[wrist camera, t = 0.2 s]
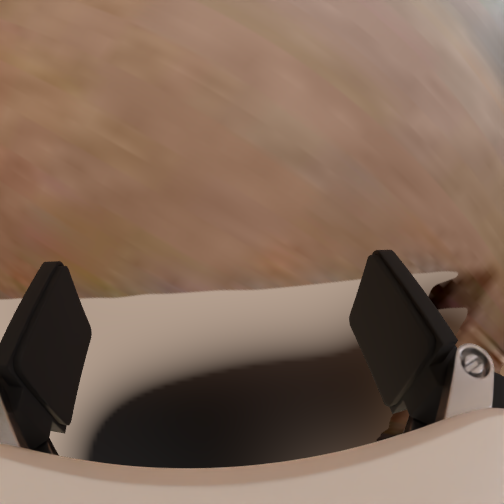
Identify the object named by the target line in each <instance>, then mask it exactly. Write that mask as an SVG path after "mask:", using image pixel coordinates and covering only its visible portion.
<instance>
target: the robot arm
mask: <svg viewBox="0 0 504 504" xmlns="http://www.w3.org/2000/svg"><path fill="white" fill-rule="evenodd" d="M349 321H350V326H351V328H352V330H353V333H354V335H355V337H356V339H357V342H358V344H359V346H360V348H361V350H362V353H363V355H364V357H365V359H366V362H367V364H368V366H369V368H370V371H371V373H372V376H373V378H374V380H375V383H376V385H377V387H378V390H379V392H380V395H381V397H382V399H383V402H384V404H385V405H386V406H389V407H390V409H391V411H392V414H393V413H397V412H400V411H403V410H406V409H407V410H408V412H409V418H408V421H407V424H406V427H405V430H404V433H403V434H401V435H397V436H394V437H391V438H388V439H385V440H381V441H378V442H375V443H371V444H368V445H363V446H360V447H356V448H352V449H348V450H343V451H339V452H335V453H330V454H325V455H320V456H315V457H309V458H304V459H298V460H292V461H285V462H278V463H269V464H261V465H251V466H239V467H224V468H190V469H187V468H185V469H183V468H151V467H136V466H124V465H115V464H107V463H99V462H92V461H86V460H80V459H74V458H68V457H63V456H59V455H58V453H57V451H56V450H55V448H54V446H53V444H52V442H51V440H50V438H49V436H50V431H55V432H61V433H65V430H66V425H69V424H70V423H71V420H72V414H73V409H74V404H75V400H76V395H77V390H78V386H79V382H80V377H81V374H82V370H83V366H84V362H85V358H86V354H87V351H88V347H89V343H90V340H91V327H90V324H89V322H88V320H87V317H86V315H85V312H84V310H83V307H82V305H81V302H80V300H79V297H78V294H77V292H76V289H75V286H74V283H73V281H72V278H71V275H70V272H69V269H68V268H67V266H64V265H63V263H62V262H60V261H57V262H44V263H43V264H42V266H41V267H40V269H39V271H38V272H37V274H36V276H35V277H34V279H33V281H32V282H31V284H30V286H29V288H28V290H27V291H26V293H25V295H24V297H23V299H22V301H21V303H20V304H19V306H18V308H17V310H16V312H15V314H14V316H13V318H12V320H11V322H10V324H9V326H8V328H7V330H6V332H5V334H4V336H3V338H2V340H1V343H0V504H504V376H502V375H499V374H497V373H495V372H494V365H493V361H492V359H491V357H490V356H489V354H488V353H487V352H486V351H485V350H484V349H483V348H481V347H479V346H477V345H475V344H464V345H461V346H460V347H459V348H458V349H457V347H456V346H455V344H456V342H457V341H458V340H457V338H456V336H455V335H454V333H453V332H452V330H451V329H450V327H449V326H448V325H447V323H446V322H445V320H444V319H443V317H442V316H441V314H440V313H439V311H438V310H437V309H436V307H435V306H434V304H433V303H432V301H431V300H430V299H429V297H428V296H427V295H426V293H425V292H424V290H423V289H422V288H421V286H420V285H419V284H418V282H417V281H416V280H415V278H414V277H413V276H412V274H411V273H410V272H409V270H408V269H407V268H406V267H405V265H404V264H403V263H402V261H401V260H400V259H399V258H398V256H397V255H396V254H395V253H394V252H393V251H392V250H376V251H374V252H373V254H372V255H370V256H369V257H368V259H367V263H366V266H365V269H364V273H363V276H362V279H361V282H360V286H359V289H358V292H357V295H356V298H355V301H354V304H353V307H352V310H351V313H350V317H349Z"/></svg>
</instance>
